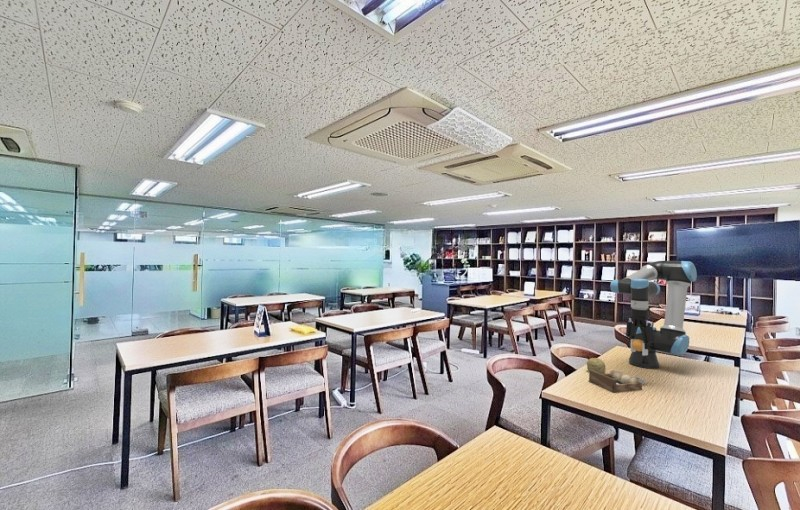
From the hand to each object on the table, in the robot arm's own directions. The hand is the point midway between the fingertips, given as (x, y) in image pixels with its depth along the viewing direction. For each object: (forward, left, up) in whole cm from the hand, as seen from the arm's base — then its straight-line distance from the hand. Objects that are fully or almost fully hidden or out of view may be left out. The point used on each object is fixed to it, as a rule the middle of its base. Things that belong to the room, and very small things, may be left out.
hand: (639, 353), depth 179 cm
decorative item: (+8, -19, -16) cm, 26 cm away
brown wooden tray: (+15, 0, -15) cm, 22 cm away
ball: (0, 0, +4) cm, 4 cm away
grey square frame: (0, 0, -15) cm, 15 cm away
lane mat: (+15, 0, -15) cm, 22 cm away
